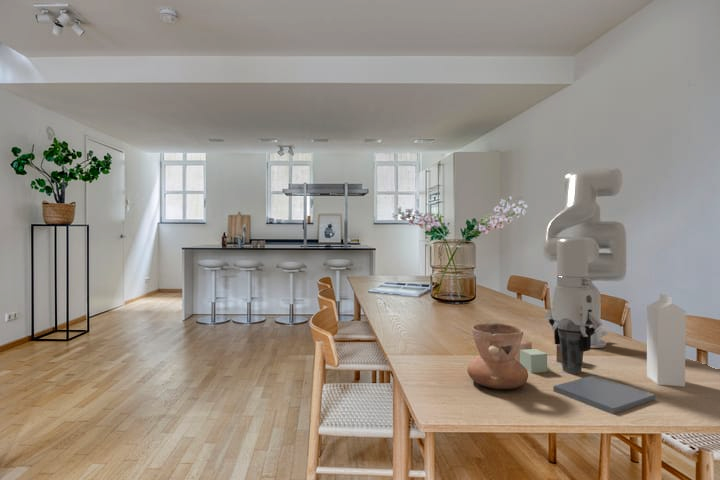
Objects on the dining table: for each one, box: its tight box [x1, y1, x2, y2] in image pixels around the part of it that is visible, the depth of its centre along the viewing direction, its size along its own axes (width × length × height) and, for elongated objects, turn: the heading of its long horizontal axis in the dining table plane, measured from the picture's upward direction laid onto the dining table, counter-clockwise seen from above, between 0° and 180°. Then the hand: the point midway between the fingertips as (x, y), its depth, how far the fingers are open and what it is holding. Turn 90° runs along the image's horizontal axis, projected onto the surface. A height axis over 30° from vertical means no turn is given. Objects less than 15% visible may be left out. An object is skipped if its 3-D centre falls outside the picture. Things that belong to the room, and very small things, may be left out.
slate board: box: [552, 375, 656, 415], centre depth 93 cm, size 16×14×1 cm
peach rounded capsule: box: [514, 339, 533, 363], centre depth 117 cm, size 6×6×6 cm
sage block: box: [520, 348, 548, 374], centre depth 111 cm, size 5×5×5 cm
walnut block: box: [555, 344, 562, 364], centre depth 118 cm, size 5×5×5 cm
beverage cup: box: [557, 318, 584, 375], centre depth 109 cm, size 7×7×20 cm
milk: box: [646, 293, 687, 388], centre depth 101 cm, size 6×6×22 cm
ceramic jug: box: [466, 322, 529, 390], centre depth 100 cm, size 18×14×14 cm
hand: (571, 346), depth 109 cm, fingers closed on beverage cup, 7 cm apart
